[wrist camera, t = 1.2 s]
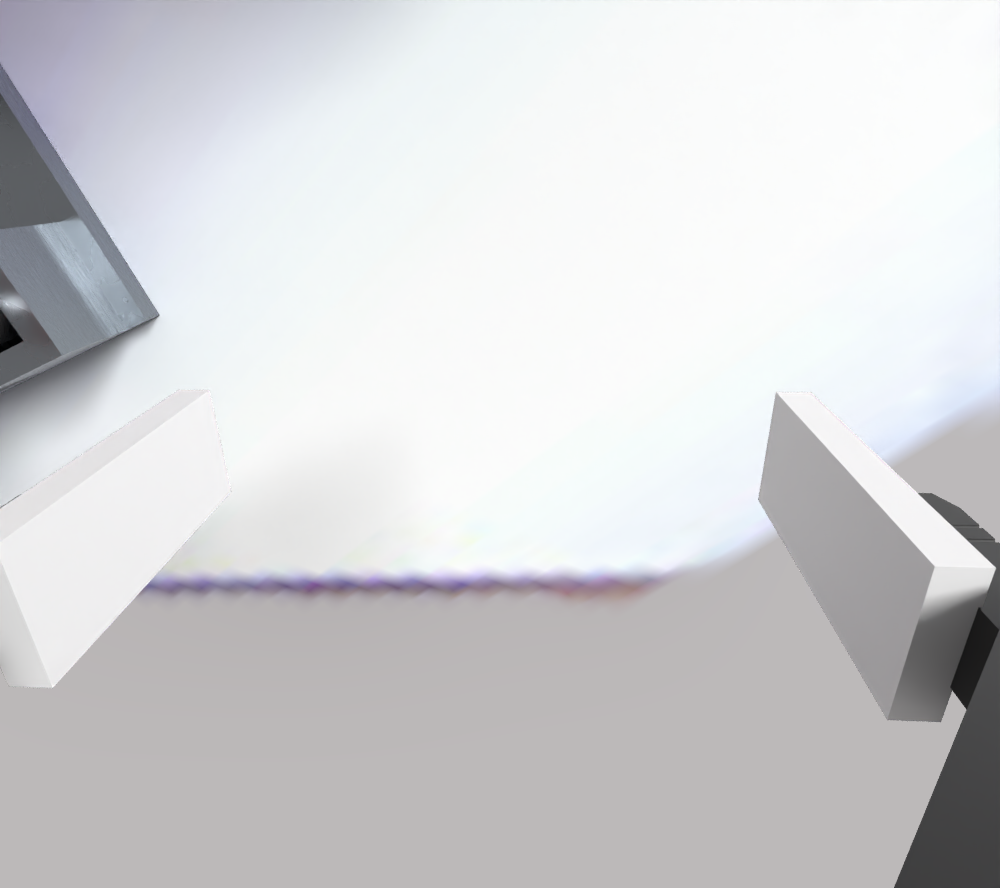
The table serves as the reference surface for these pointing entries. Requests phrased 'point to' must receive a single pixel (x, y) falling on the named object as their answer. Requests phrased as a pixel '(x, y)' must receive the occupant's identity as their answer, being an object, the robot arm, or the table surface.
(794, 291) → the table surface
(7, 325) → the pin
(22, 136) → the press
